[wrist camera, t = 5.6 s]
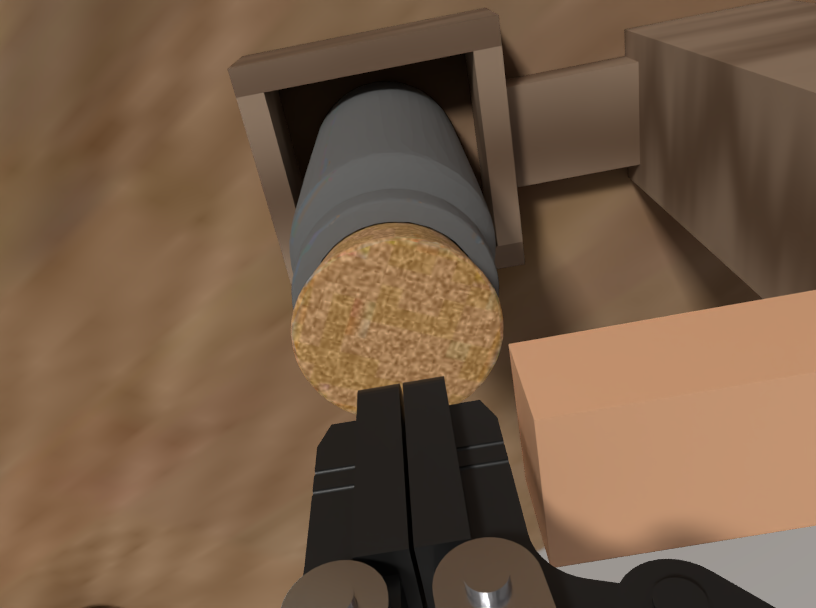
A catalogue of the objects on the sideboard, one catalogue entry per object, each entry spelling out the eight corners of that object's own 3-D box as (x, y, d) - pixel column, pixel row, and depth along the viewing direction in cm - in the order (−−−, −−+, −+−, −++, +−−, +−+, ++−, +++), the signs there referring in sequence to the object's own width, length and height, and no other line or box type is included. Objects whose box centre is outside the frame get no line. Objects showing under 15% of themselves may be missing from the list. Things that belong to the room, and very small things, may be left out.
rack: (242, 56, 26) (34, 230, 10) (784, -52, 25) (1499, -48, 9) (304, 274, 30) (227, 633, 14) (765, 189, 29) (1223, 473, 14)
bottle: (403, 242, 30) (427, 478, 17) (289, 169, 28) (215, 368, 15) (485, 134, 28) (586, 306, 15) (367, 48, 26) (361, 155, 13)
